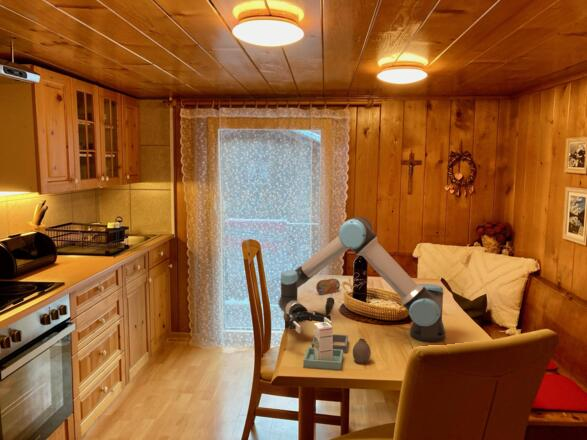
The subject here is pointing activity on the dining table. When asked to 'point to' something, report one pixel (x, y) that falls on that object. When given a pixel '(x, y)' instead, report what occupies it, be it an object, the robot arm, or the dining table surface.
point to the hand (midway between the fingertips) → (315, 327)
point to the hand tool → (329, 305)
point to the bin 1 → (338, 339)
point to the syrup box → (323, 341)
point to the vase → (361, 351)
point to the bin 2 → (320, 364)
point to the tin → (327, 286)
